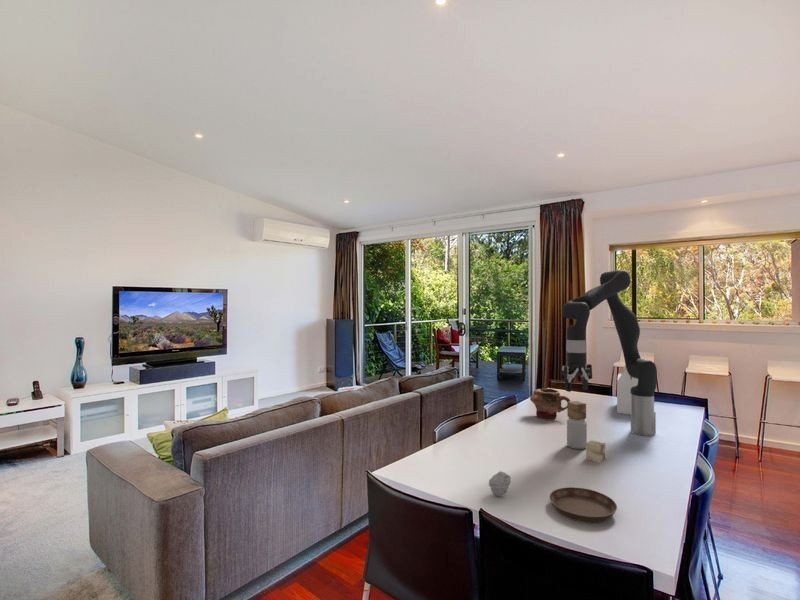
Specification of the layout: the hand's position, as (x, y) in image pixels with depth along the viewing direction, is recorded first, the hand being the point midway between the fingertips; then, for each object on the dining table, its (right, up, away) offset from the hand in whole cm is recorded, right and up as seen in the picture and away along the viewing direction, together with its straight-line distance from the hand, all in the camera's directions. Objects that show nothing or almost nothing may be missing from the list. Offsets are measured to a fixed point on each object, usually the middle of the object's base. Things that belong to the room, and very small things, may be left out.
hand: (576, 390), depth 173 cm
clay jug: (+4, -23, +43) cm, 49 cm away
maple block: (+2, -23, -13) cm, 27 cm away
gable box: (+54, -23, +58) cm, 83 cm away
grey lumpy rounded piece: (-42, -23, -43) cm, 64 cm away
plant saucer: (-20, -24, -52) cm, 61 cm away
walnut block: (0, -11, 0) cm, 11 cm away
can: (0, -23, 0) cm, 23 cm away
